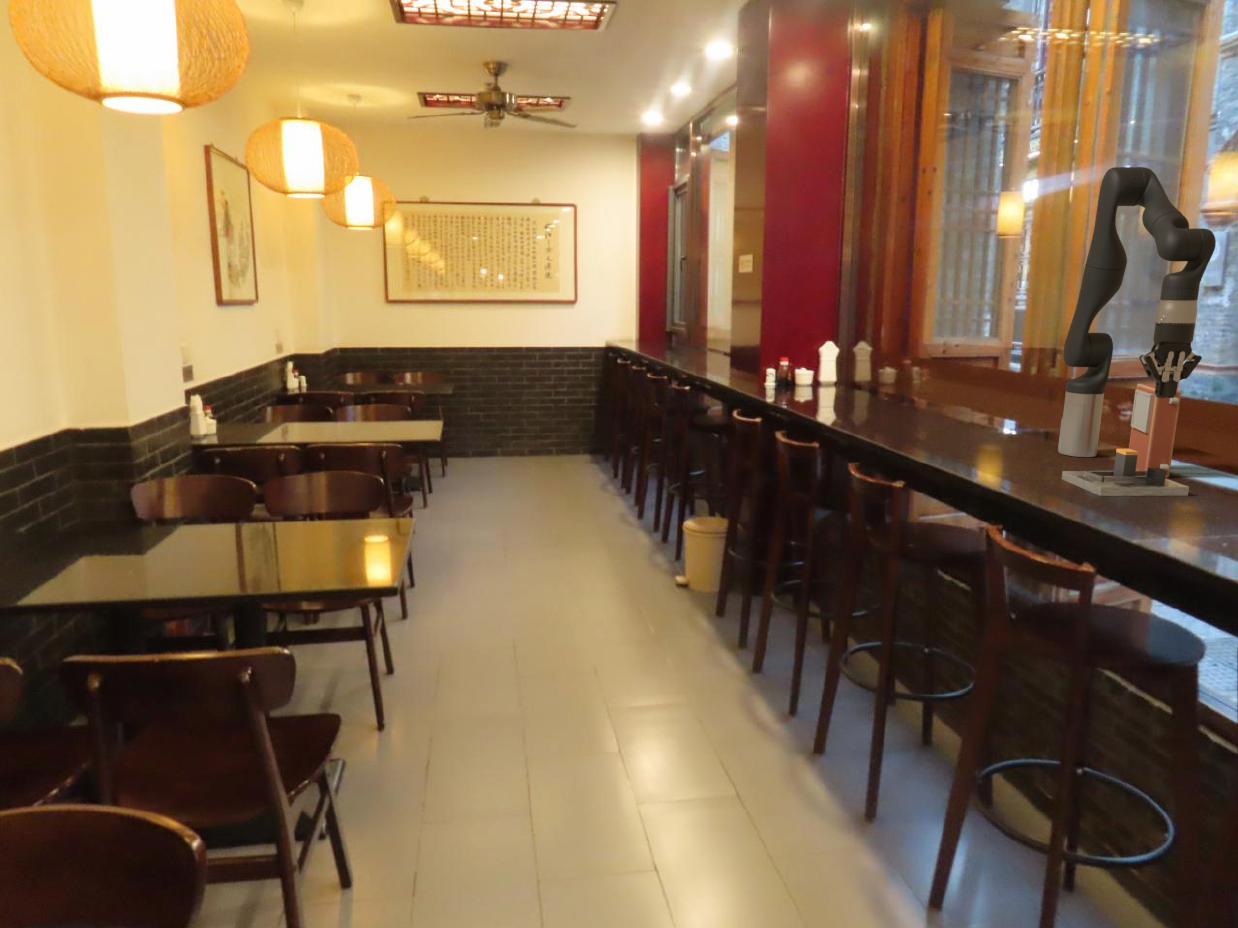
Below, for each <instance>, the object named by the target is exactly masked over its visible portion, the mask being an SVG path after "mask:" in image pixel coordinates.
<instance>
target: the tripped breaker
mask: <svg viewBox="0 0 1238 928" xmlns="http://www.w3.org/2000/svg"><path fill="white" fill-rule="evenodd" d="M1137 457H1138V451H1135V450H1131V449H1129V448H1116V452H1115V458H1114V466H1113V467H1114V468H1113V471H1114V473H1113V475H1115V476H1135V471H1136V464H1137Z"/></svg>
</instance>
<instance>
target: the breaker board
mask: <svg viewBox="0 0 1238 928" xmlns="http://www.w3.org/2000/svg"><path fill="white" fill-rule="evenodd" d="M1113 473H1114V470H1063V471H1062V475H1061V480H1063V481H1065V482H1067V483H1069V484H1072V485H1074V486H1077V487H1078V488H1081V489H1083V490H1085V491H1088V492H1090V493H1092V494H1093V495H1097V496H1100V497H1142V496H1143V497H1149V496H1150V497H1151V496H1152V497H1154V496H1157V497H1158V496H1159V497H1161V496H1163V497H1164V496H1165V497H1167V496H1168V497H1170V496H1174V497H1175V496H1177V497H1178V496H1179V497H1180V496H1184V497H1185V496H1189V492H1190V491H1189V489H1190V486H1189V485H1185V484H1183V483H1180V482H1177V481H1173V480H1172V479H1168V478H1167V477H1166V470H1164V469H1161V468H1148V471H1135V476H1115V475H1113Z"/></svg>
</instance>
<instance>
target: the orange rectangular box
mask: <svg viewBox="0 0 1238 928" xmlns="http://www.w3.org/2000/svg"><path fill="white" fill-rule="evenodd" d="M1155 387H1156V383H1155V384H1154V383H1137V386H1136V389H1134V392H1135V393H1134V399H1133V406H1132V414H1131V422H1130V427H1131V430H1130V437H1129V444H1128V449H1131V450H1135V451H1138V457H1137V464H1136V471H1148V468H1161V469H1164V470H1166V478H1169V477H1170V472H1171V465H1172V460H1173V459H1172V458H1173V451H1174V445H1175V439H1176V438H1175V437H1176V432H1177V424H1178V418H1179V416H1180V415H1179V413H1180V405H1181V403H1180V402H1181V398H1182V390H1180V389H1178V388H1177V393H1176V395H1175V396H1174V398H1166V397H1165V398H1157V397H1156V395H1155Z"/></svg>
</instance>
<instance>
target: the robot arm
mask: <svg viewBox="0 0 1238 928" xmlns="http://www.w3.org/2000/svg"><path fill="white" fill-rule="evenodd" d="M1101 180H1102V181H1101V184H1100V188H1099V192H1098V197H1097V198H1098V200H1097V207H1096V215H1095V220H1094V221H1095V222H1094V228H1093V233H1092V238H1091V241H1090V245H1089V250H1088V254H1087V256H1086V262H1085V265H1084V270H1083V274H1082V278H1081V283H1080V284H1081V285H1080V290H1079V293H1078V297H1077V302H1076V305H1075V310H1074V313H1073V317H1072V319H1071V323H1070V326H1069V328H1068V331H1067V335H1066V338H1065V341H1064V346H1063V352H1062V354H1063V355H1062V356H1063V361H1064V363H1065V365H1066V366H1068V367H1070V368H1071V367H1072V368H1087V370H1086V371H1085V372H1084V373H1083V374H1082V375H1080V376H1078V377H1074V378H1072V379H1070V380H1068V381H1067V382H1066V387H1065V394H1064V395H1065V397H1064V406H1063V414H1062V417H1061V421H1060V430H1059V437H1058V438H1059V439H1058V447H1057V451H1058V453H1059V454H1061V455H1065V456H1071V457H1079V458H1093V457H1096V456H1097V455H1098V454H1097V453H1098V446H1099V445H1098V444H1099V440H1100V439H1099V437H1100V430H1101V423H1102V413H1103V405H1104V397H1105V390H1106V386H1107V384H1108V382H1109V376H1110V370H1111V369H1110V368H1111V364H1112V359H1113V354H1114V353H1113V352H1114V343H1113V337H1112V336H1111V335H1110V334H1108V333H1106V332H1090V329H1091V326H1092V324H1093V321H1094V319H1095V318H1096V316H1097V315H1098V314H1099V312H1100V311H1101V310H1102V309H1103V308H1104V307H1105V306H1106V305H1107V304H1108V303H1109V302H1110V301H1111V300H1112V298H1113V297H1114V296H1116V294H1117V293H1118V292H1119V290H1120V288H1121V287H1122V284H1123V281H1124V276H1125V273H1126V268H1127V264H1128V257H1127V253H1126V250H1125V248H1124V245H1123V242H1122V240H1121V238H1120V236H1119V234H1118V230H1117V225H1116V223H1117V222H1116V221H1117V220H1116V218H1117V212H1118V207H1136V206H1140V207H1143V208H1144V210H1143V213H1142V216H1141V221H1142V224H1143V227H1144V228H1145V230H1146V231H1147V233H1148V234H1150V235H1151V236H1152V238H1153V239H1154V242H1155V246H1156V249H1157V254H1158V256H1159V257H1160V258H1161V259H1163V260H1164V261H1168V262H1186V264H1185V266H1184V267H1183V269H1181V270H1179V271H1177V272H1176V271H1175V272H1170V273H1168V274H1166V275H1164V277H1163V278H1162V284H1161V290H1160V291H1161V292H1160V298H1159V303H1158V306H1157V312H1156V317H1155V318H1156V319H1155V325H1154V333H1153V339H1152V340H1153V346H1152V347H1151V348H1150V349H1151V350H1150V351H1149V352H1148V353H1146V354H1141V355H1139V359H1138V360H1140V363H1141V365H1142V367H1143V369H1144V371H1145V374H1146V376H1147V377H1148V379H1153V380H1154V381H1155V384H1156V387H1155V395H1156V397H1157V398H1165V397H1166V398H1174V396H1175V395H1176V393H1177V389H1178V384H1179V382H1180V381H1181V380H1187V379H1188V378H1189V376H1190V375H1191V374H1192V373H1193V371H1194V370H1195V368H1196V367H1197V366H1198V365H1199V363H1200V362H1201V360H1202V359H1203V358H1202V355H1197V354H1196V353H1194V352H1193V348H1192V345H1191V344H1192V343H1193V341H1194V336H1195V329H1196V322H1197V317H1198V316H1197V315H1198V300H1199V299H1198V298H1199V292H1200V285H1201V281H1202V279H1203V276H1204V274H1205V272H1206V270H1207V267H1208V265H1209V263H1210V261H1211V259H1212V257H1213V254H1214V253H1215V249H1216V243H1217V242H1216V241H1217V240H1216V237H1215V234H1214V233H1213V231H1212V230H1211V229H1209V228H1190V223H1189V220H1188V219H1187V218H1186V217H1185V215H1183V213H1182V212H1181V211H1180V210H1178V208H1177V207H1175V206H1174V204H1173V203H1172V202H1171V201H1170V199H1169V198H1168V195H1167V194H1166V191H1165V189H1164V187H1163V186H1162V184H1161V181H1160V180H1159V178H1158V176H1157V175H1156V173H1155V172H1154V171H1153V170H1152V169H1151V168H1148V167H1143V166H1131V167H1130V166H1129V167H1128V166H1124V167H1123V166H1122V167H1121V166H1120V167H1119V166H1115V167H1111V168H1109V169H1108V170H1107V171H1106V172H1105V174H1104V176H1103V178H1102V179H1101Z"/></svg>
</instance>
